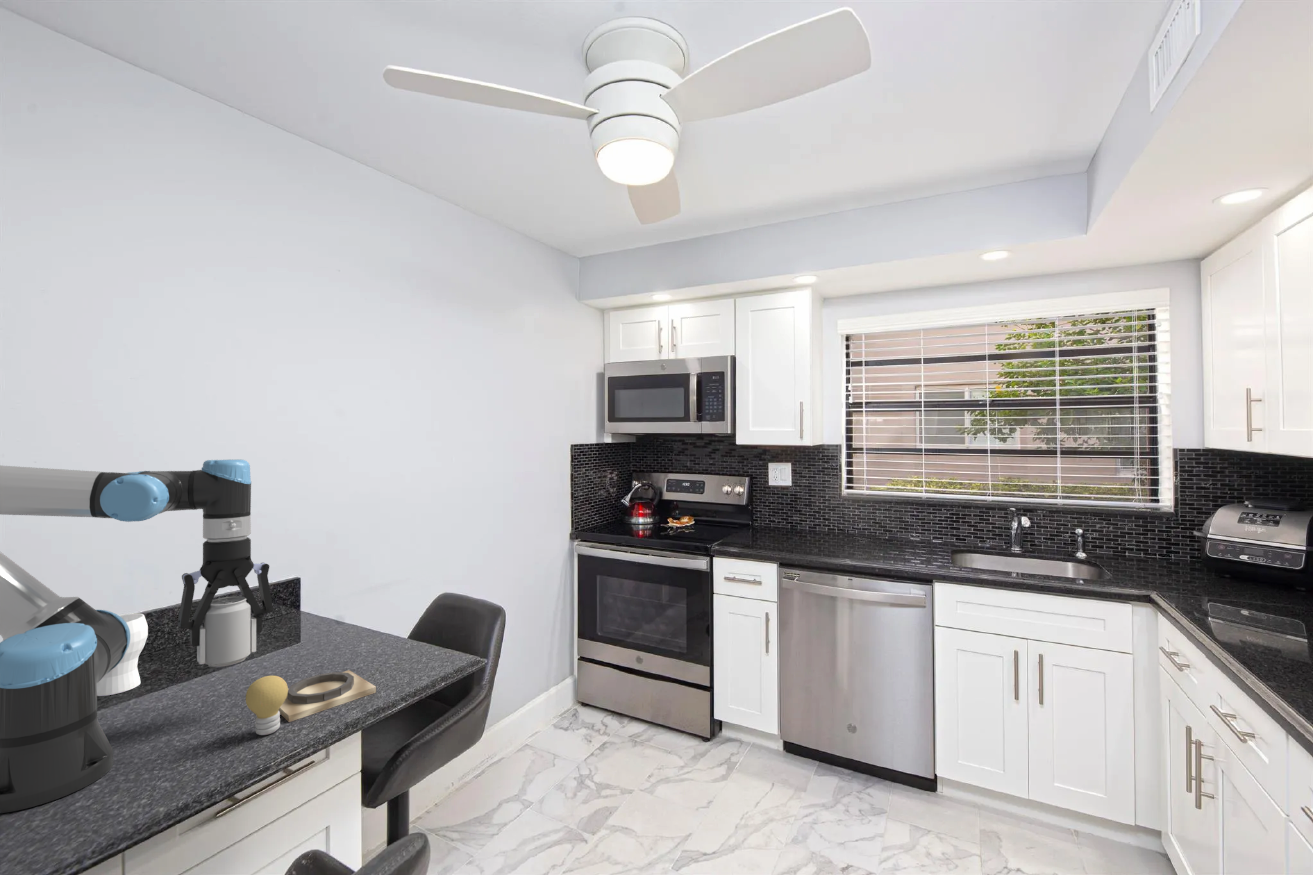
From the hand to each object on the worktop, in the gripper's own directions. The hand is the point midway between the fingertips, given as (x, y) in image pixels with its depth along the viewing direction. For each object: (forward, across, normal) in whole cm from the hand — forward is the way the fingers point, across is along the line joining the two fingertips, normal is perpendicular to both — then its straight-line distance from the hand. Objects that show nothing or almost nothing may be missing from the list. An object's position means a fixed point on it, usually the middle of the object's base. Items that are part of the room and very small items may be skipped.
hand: (227, 655), depth 112 cm
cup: (+12, -12, +35) cm, 39 cm away
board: (+11, +15, -6) cm, 19 cm away
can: (+1, 0, 0) cm, 1 cm away
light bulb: (+11, +3, -14) cm, 19 cm away
